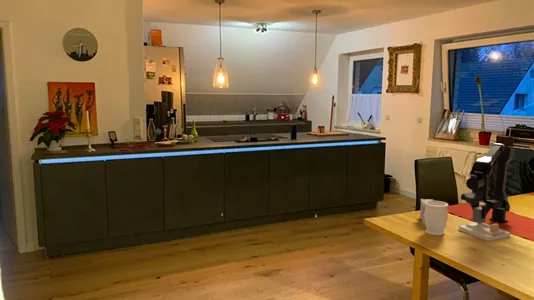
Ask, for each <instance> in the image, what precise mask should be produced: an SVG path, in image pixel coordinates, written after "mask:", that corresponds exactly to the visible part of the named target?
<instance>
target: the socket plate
mask: <svg viewBox="0 0 534 300" xmlns="http://www.w3.org/2000/svg"><path fill="white" fill-rule="evenodd" d="M490 225H491V224H489V223H488V224H487V223H486V222H485V223H480V224H479V223H476V222H472V223H471V222H470V223H465V224H462V225H458V230H459V231H462V232H463V233H466V234H468V235H471V236H473V237H474V236H475V237H477V238H480V239H481V240H484V241H487V242H491V241H497V240H500V239H505V238H509V237H511V231H510V232H509V231H507V230H505V229H501V228H499V227H498V229H499V230H502V231H505V233H504V234H499V235H493V234H494V233H492V232H489V231H486V230H483V229H487V228H490Z"/></svg>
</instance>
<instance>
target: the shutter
mask: <svg viewBox="0 0 534 300" xmlns="http://www.w3.org/2000/svg"><path fill="white" fill-rule="evenodd" d="M499 224H500V223H498V222H496V223H492V224H489V225H490V228H487V229H483V230H486V231H489V232H492V233H494V234H493V235H499V234H504V233H505V231H506V230H505V231H502V230H503V229H502V230H499V229H500V228H499ZM498 228H499V229H498Z"/></svg>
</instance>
